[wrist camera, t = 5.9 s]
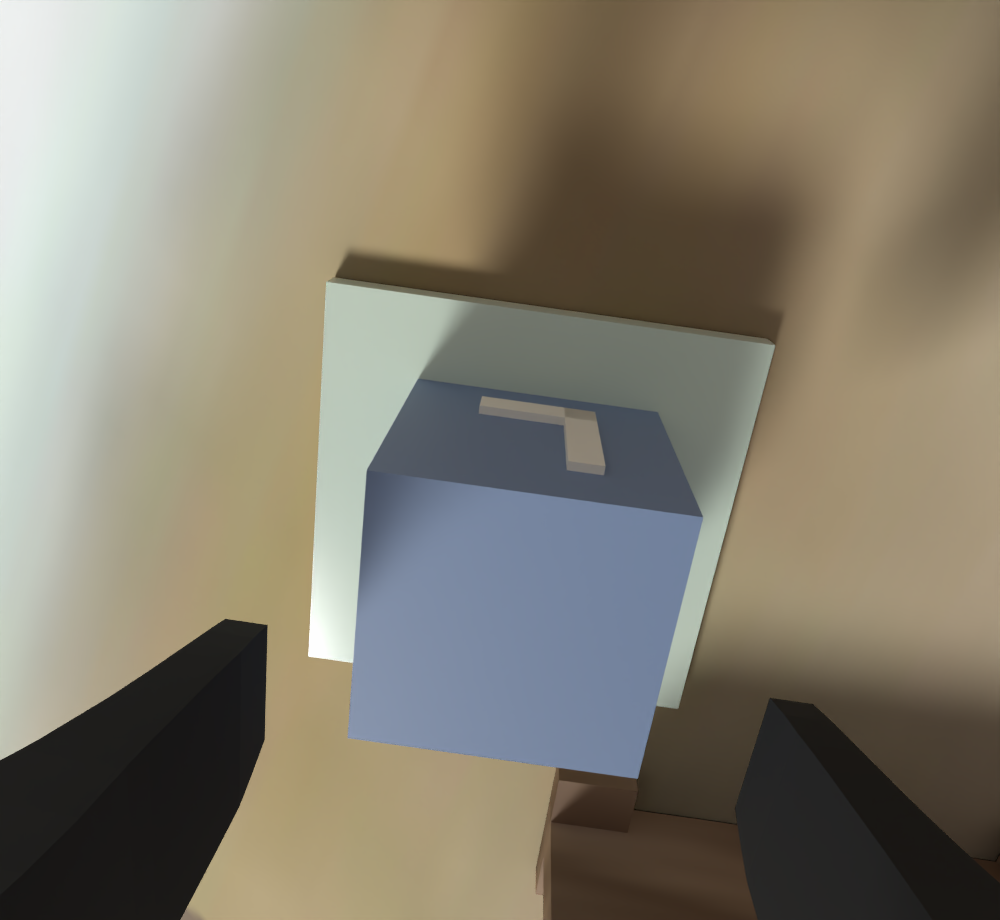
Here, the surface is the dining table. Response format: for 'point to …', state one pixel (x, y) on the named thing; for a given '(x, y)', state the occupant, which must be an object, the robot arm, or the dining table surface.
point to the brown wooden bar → (639, 858)
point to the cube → (519, 578)
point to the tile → (531, 370)
